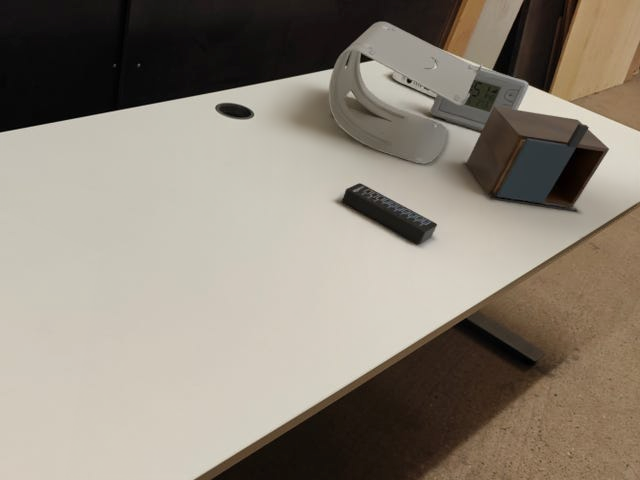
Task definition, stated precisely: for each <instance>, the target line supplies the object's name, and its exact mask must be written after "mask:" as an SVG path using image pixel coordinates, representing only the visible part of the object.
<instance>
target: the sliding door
mask: <svg viewBox="0 0 640 480" xmlns="http://www.w3.org/2000/svg"><path fill="white" fill-rule="evenodd" d="M589 129H590V128H589V126H588V125H587V124H583V123H582V124H578V125H577V127H576V129H575V131H574V132H573V134H572V136H571V137H570V139H569V141H568V143H567V145H566V144H560V143H554V142H547V141H541V140H534V139H528V138H527V139H526V141H525V143H524V145H523V147H522V148H521V150H520V152H519V154H518V156H517V158H516V160H515V161H514V163H513V165H512V167H511V169H510V171H509V173H508V174H507V176H506V178H505V180H504V182H503V184H502V186H501V187H500V189H499V191H498V193H497V196H496V197H503V198H510V199H517V200H523V201H530V202H537V203H544V201H545V199H546V197H547V196H548V194H549V192H550V191H551V189H552V187H553V186H554V184H555V182H556V181H557V179H558V177H559V176H560V174H561V172H562V171H563V169H564V167H565V166H566V164H567V162H568V161H569V159H570V157H571V156H572V154H573V152H574V151H575V149H576V148H577V147H578V145H579V143H580V142H581V140H582V138H583V137H584V135H585V133H586V131H587V130H589Z"/></svg>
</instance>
